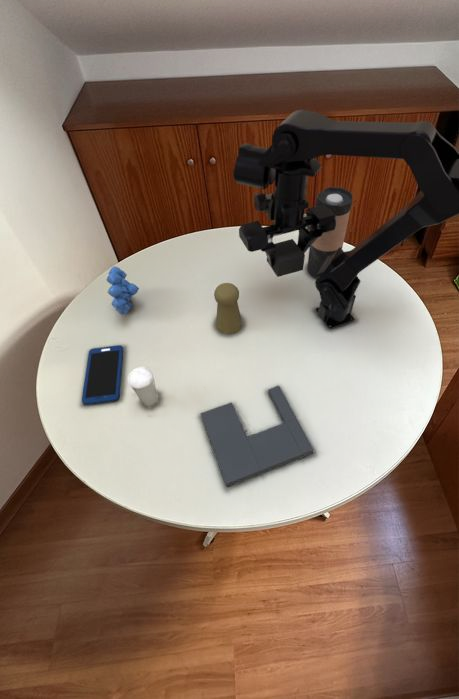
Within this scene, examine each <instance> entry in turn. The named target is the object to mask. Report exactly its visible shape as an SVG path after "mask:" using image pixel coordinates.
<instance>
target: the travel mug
mask: <svg viewBox="0 0 459 699" xmlns="http://www.w3.org/2000/svg"><path fill="white" fill-rule="evenodd" d="M353 200H354V195H353V193H352V192H351V191H350V190H348V189H346V188H343V187H339V186H331V187H330V186H329V187H325V188H324V189H323V190H322V191H321V192H320V193H317V194H316V199H315V201H316V202H315V206H318V205H322V204H324V205H325V206H326V207H327V208H328V209H329V210H330V211H331V212H332V213H333V214H334V215H335V216H336V219H337V222H336V228H335V230H332V231H329V232H325V233H323V234H322V236H321V237H318V238H317V239H316V240H315V242H314V243H313V244H312V245H311V246H310V247H309V248H308V259H307V266H306V267H307V269H306V270H307V273H308V274H309V276H311V277H312V278H314V279H317V278H318V276H317V273H318V272H319V270H320V268H321V267H322V265H323V264H324V262H325V260H326V259H327V257H328V256H330V255H332V254H334V253H335V252H336V251H337V249H338V248H339V247H340V248H341V249H342V250H343V246H344V242H345V237H346V233H347V228H348V224H349V218H350V215H351V211H352V210H351V209H352V205H353Z"/></svg>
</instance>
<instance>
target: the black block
mask: <svg viewBox="0 0 459 699" xmlns="http://www.w3.org/2000/svg"><path fill="white" fill-rule="evenodd" d="M274 245H275V246H276V252H275V262H274V265H273V267H271V265H270V263H269V261H268V258H267V257H266V262H267V263H268V265H269V267H270V268H271V270H272V272H274V274H275V276H276V277H277V278H280V277H283V276H287V275H290V274H294V273H297V272H301V271H304V268H305V267H304V266H305V258H306V254H305V253H303V252H302V250H301V249H300V248H299V246H298V245H297V242H296V241H295V240H294V239H293V238H291V239H288V240H287V239H286V240H283V241H279V242H276V243H274Z"/></svg>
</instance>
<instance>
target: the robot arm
mask: <svg viewBox="0 0 459 699" xmlns="http://www.w3.org/2000/svg"><path fill="white" fill-rule="evenodd" d="M322 156H345V157H359V158H377V159H391V160H392V159H394V160H403V161H404V162H405V163H406V165H407V166H408V167H409V169H410V171H411V173H412V175H413V178H414V180H415V182H416V184H417V187H418V188H419V191H418V193H416V195H415V196H414V197H413V199H412V200H411V201H410V202H409V203H408V204H407V205H406V206H404V207H403V208H402V209H400V210H399V211H398V212H396V214H394V215H393V216H392V217H390V218H389V219H388V220H387V221H386V222H385V223H383V224H382V225H381V226H379V227H378V228H377V229H376V230H375V231H373V232H372V233H371V234H370V235H368V236H367V237H365V239H363V240H362V241H361V242H359V243H358V244H357V245H356V246H355V247H354V248H352V249H351V250H346V251H344V250H343V248H342V249H341V248H340V247H339V248H338V249H337V251H336V252H335V253H334V254H332V255H330V256H328V257H327V259H326V260H325V262H324V264H323V265H322V267H321V268H320V270H319V272H318V273H317V276H318V278H315V280H314V284H315V288H316V291H317V292H318V293H319V298H320V302H319V306H318V307H316V308H315V313H317V316H318V317H319V318H320V320H321V321H322V323H324V325H325V326H326V327H327V328H328V329H330V330H331V329H335V328H338V327H340V326H343V325H347V324H349V323H352V322H354V321H355V317H354V316H353V314H352V311H353V308H354V304H355V302H356V297H357V295H356V292H357V290H358V288H359V286H360V284H361V279H360V278H359V276H358V275H359V274H360V273H361V272H362V271H364V270H365V269H366V268H368V267H369V266H370V265H372V264H373V263H375V262H376V261H378V260H379V259H380V258H382V257H383V256H385V255H386V254H387V253H389V252H390V251H391V250H393V249H395V248H396V247H397V246H399V245H401V243H403V242H405V241H406V240H407V239H409V238H410V237H412V236H413V235H414V234H415V233H417V232H419V231H420V230H422V229H423V228H426V227H432V226H435V225H440V224H442V223H443V222H446V221H448V220H450V219H452V218H454V217H456V216H458V215H459V151H458V149H457V148H456V147H455V146H454V145H453V144H452V143H451V142H449V141H448V140H447V139H446V138H445V137H443V136H442V135H441V134H440V132H439V131H438V130H437V128H436V127H435V125H434V124H432V123H431V122H430V121H426V120H420V121H416V122H401V121H400V122H399V121H398V122H395V121H350V120H349V121H348V120H336V119H331V118H329V117H327V116H326V115H324V114H322V113H320V112H316V111H315V112H314V111H309V110H306V109H297V110H295V111H293V112H292V113H291V114H289V115H288V116H287V117H286V118H285V119H284V120H283V121H282V122H281V123H280V124H278V126H277V127H276V128H275V130H274V131H273V133H272V135H271V145H270V146H269V147H268V148H267V147H262V146H256V145H254V144H251V143H247V142H244V143H243V144H241V146H239V147H238V155H237V157H236V160H235V163H234V169H233V180H234V182H235V183H236V184H239V185H243V186H247V187H252V188H257V189H261V190H266V189H267V188H268V187H269V186H270V185H273V184H274V192H272V193H268V194H266V193H264V192H258V193H255V194H254V195H253V205H254V210H255V211H257V212H259V213H260V212H263V213H264V214H265V213H267V218H268V220H269V221H272V224H270V225H267V226H262V223H260V221H259V220H255V221H252V222H247V223H244V224H241V225H240V226H239V229H238V237H239V239H240V240H241V242H242V243H243V246H244V247H245V248H246V250H247V251H248V252H251V253H253V252H257V251H261V252H264V253H265V256H266V259H267V258H268V261H269V263H270V265H271V266H270V265H269V266H270V268H271V267H273V265H274V262H275V252H276V246H275V245H274V244H275V243H274V242H273V239H274V237H277V236H281V235H285V234H289V233H293V232H297V231H298V237H297V242H296V244H297V245H298V246H299V248H300V249H301V250H302V252H303V253H304V254H305V253H306V252H307V251H309V247H310V246H311V245H312V244H313V243H314V242H315V240H316V239H317V238H318V237H321V236H322V234H323V233H325V232H329V231H332V230H335V228H336V222H337V219H336V216H335V215H334V214H333V213H332V212H331V211H330V210H329V209H328V208H327V207H326V206H325V205H324V204H322V205H318V206H316V205H315V206H311V207H309V204H310V202H309V201H308V200H307V199H306V198H307V190H308V181H309V180H308V179H309V177H311V178H314V177H316V175H317V173H318V172H319V171H320V170H321V169H322V167H323V166H322V163H321V162H320V161H319V160H318V159H316V158H319V157H322ZM269 263H268V264H269Z"/></svg>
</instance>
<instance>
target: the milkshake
mask: <svg viewBox="0 0 459 699" xmlns="http://www.w3.org/2000/svg"><path fill="white" fill-rule="evenodd" d="M127 383H128V385H129V386H130V387H131V389H132V391H134V393H135V395H136V396H137V398H138V399H139V401H140V402H141V403H142V405H143V406H145V407H146V408H152V407H154V406H156V405H157V404H158V402H159V400H160V399H159V395H158V391H157V386H156V382H155V377H154V372H153V371H152V369H150V368H148V367H147V366H138V367H135V368H134V369H132V370H131V372H130V373H129V374H128V376H127Z"/></svg>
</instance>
